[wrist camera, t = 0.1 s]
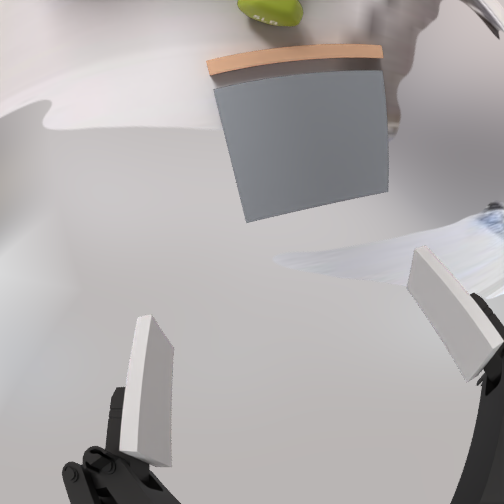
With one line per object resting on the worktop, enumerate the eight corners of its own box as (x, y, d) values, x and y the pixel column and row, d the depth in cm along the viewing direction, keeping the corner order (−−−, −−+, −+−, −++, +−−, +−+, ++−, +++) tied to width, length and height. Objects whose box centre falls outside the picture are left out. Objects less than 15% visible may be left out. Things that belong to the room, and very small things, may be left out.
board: (213, 89, 31) (213, 89, 30) (378, 70, 31) (382, 70, 30) (245, 219, 43) (246, 222, 42) (384, 188, 42) (388, 191, 41)
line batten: (206, 62, 29) (206, 60, 27) (374, 46, 28) (381, 45, 27) (210, 75, 30) (209, 75, 28) (376, 58, 30) (383, 58, 28)
